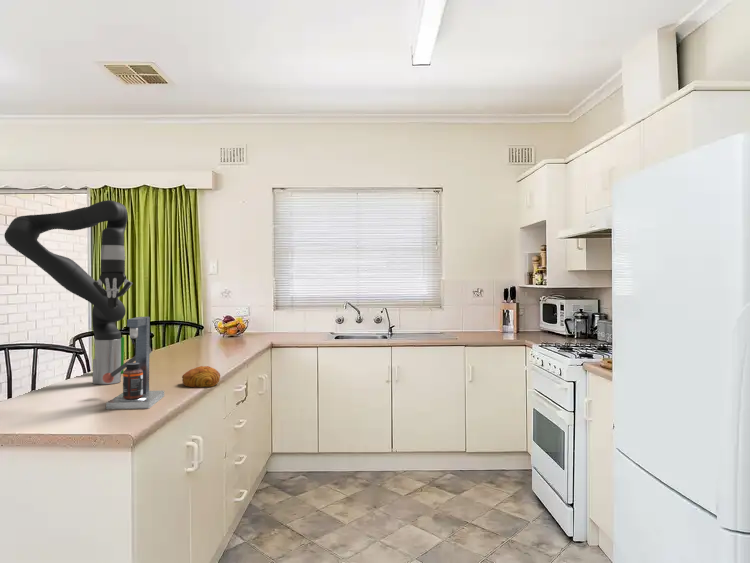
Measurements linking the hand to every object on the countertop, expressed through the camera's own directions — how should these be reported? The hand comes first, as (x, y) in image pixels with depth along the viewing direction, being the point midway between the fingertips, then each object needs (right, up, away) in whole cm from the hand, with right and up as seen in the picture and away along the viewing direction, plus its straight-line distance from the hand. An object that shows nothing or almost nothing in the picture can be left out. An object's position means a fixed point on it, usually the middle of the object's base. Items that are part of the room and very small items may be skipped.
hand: (112, 308), depth 187 cm
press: (+12, -31, -8) cm, 34 cm away
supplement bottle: (+12, -29, -11) cm, 33 cm away
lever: (+6, -21, +1) cm, 22 cm away
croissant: (+23, -31, +24) cm, 46 cm away
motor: (-23, -31, +47) cm, 61 cm away
